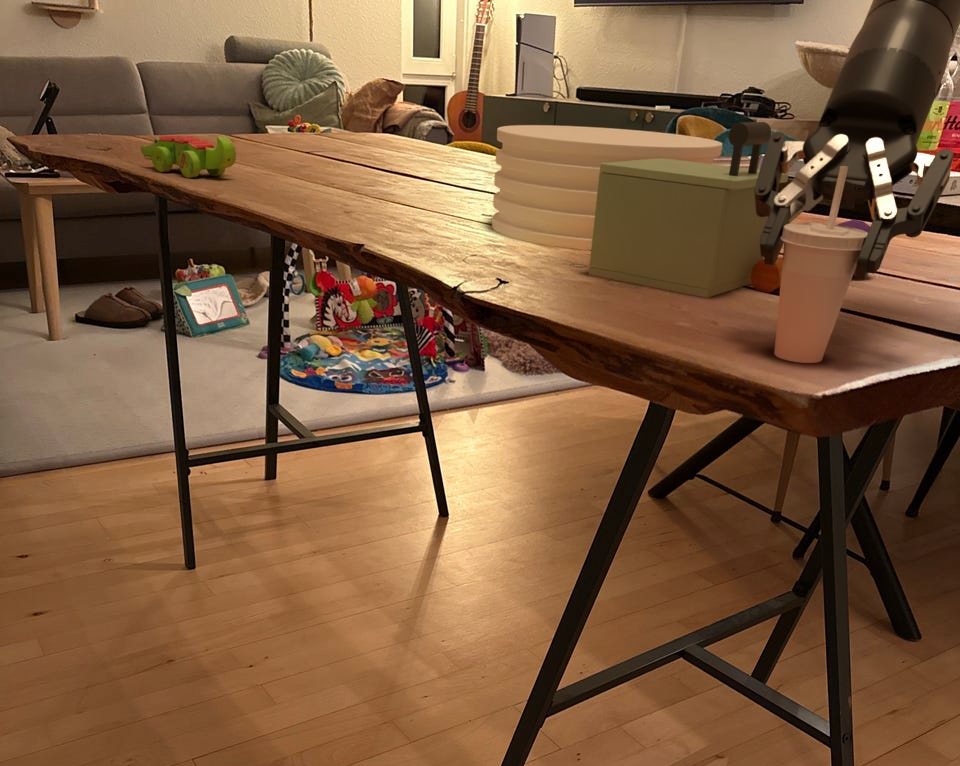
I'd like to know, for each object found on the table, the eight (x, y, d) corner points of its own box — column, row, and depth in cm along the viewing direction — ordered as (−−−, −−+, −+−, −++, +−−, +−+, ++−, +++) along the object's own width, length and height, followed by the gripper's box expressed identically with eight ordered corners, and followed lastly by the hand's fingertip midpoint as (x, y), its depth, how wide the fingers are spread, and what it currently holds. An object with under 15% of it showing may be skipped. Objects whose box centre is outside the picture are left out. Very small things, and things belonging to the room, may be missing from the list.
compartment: (759, 282, 104) (778, 181, 99) (707, 299, 95) (725, 189, 90) (646, 261, 111) (659, 166, 106) (588, 275, 102) (599, 172, 97)
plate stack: (703, 226, 137) (718, 135, 131) (709, 261, 113) (727, 152, 107) (508, 210, 140) (514, 121, 134) (474, 240, 116) (479, 134, 110)
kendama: (739, 246, 99) (839, 217, 110) (739, 306, 102) (837, 272, 113) (791, 244, 95) (890, 214, 106) (790, 307, 98) (886, 272, 109)
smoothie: (776, 369, 74) (819, 169, 67) (744, 346, 80) (781, 159, 72) (853, 370, 75) (903, 172, 68) (816, 347, 81) (860, 162, 73)
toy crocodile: (135, 167, 159) (130, 126, 156) (170, 166, 163) (166, 125, 160) (209, 182, 148) (205, 138, 145) (244, 180, 153) (241, 137, 150)
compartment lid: (787, 182, 98) (799, 123, 96) (734, 190, 89) (746, 125, 87) (659, 166, 106) (667, 111, 103) (599, 172, 97) (605, 112, 94)
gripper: (794, 38, 75) (717, 218, 72) (994, 49, 69) (918, 246, 66) (796, 114, 81) (725, 281, 79) (978, 130, 76) (908, 311, 73)
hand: (814, 264), depth 73 cm, fingers closed on smoothie, 6 cm apart
